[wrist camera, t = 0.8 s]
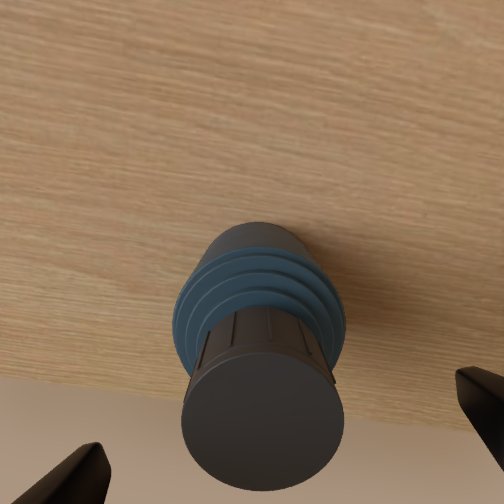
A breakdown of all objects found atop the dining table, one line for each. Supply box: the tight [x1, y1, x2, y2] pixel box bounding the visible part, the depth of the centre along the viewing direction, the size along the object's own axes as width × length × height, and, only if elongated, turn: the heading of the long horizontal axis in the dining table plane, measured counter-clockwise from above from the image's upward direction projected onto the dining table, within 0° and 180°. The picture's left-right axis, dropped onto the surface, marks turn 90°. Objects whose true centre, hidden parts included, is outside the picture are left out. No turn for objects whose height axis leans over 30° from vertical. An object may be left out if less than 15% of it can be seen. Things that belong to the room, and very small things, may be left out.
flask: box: [172, 222, 346, 377], centre depth 14 cm, size 7×7×12 cm
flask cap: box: [181, 307, 344, 491], centre depth 9 cm, size 4×4×3 cm
